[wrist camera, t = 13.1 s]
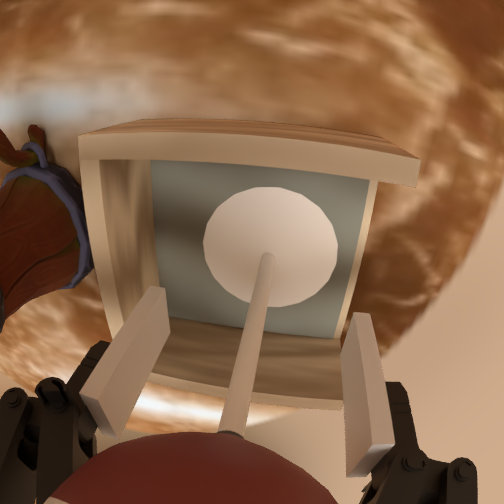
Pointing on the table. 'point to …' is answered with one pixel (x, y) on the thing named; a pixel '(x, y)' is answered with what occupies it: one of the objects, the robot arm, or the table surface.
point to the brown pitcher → (39, 226)
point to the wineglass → (241, 385)
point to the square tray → (193, 230)
